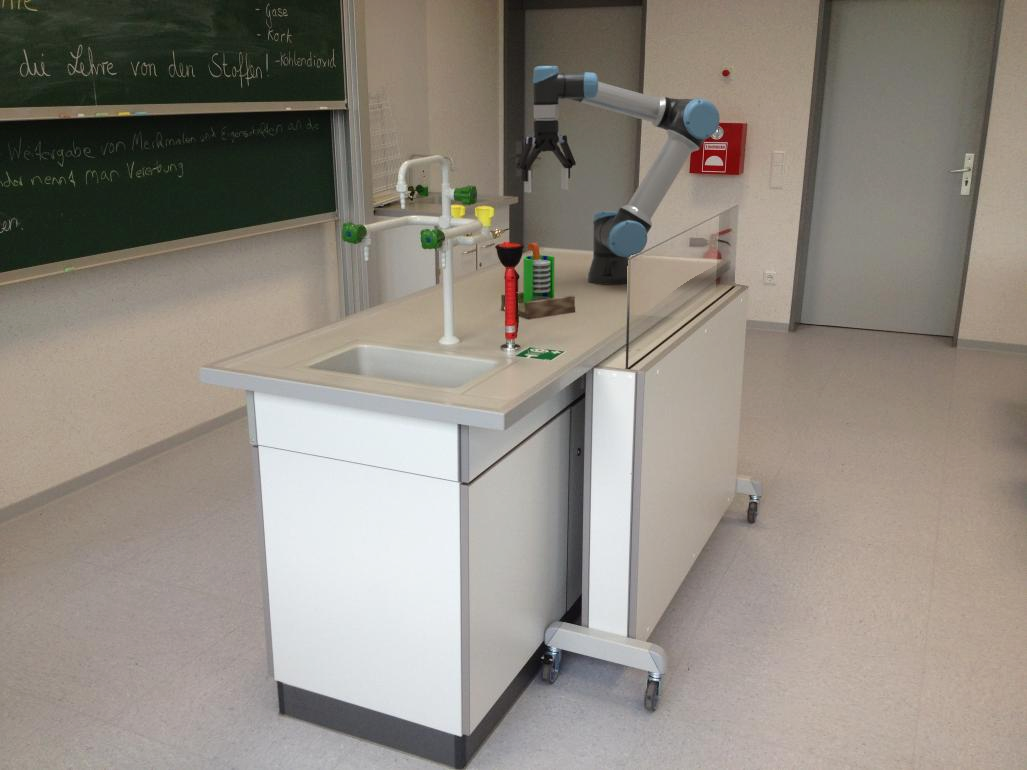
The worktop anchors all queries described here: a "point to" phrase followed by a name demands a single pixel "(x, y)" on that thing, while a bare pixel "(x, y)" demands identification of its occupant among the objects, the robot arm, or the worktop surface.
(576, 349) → the worktop surface
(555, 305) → the housing
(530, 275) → the green-shelled ribbed roller
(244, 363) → the worktop surface
